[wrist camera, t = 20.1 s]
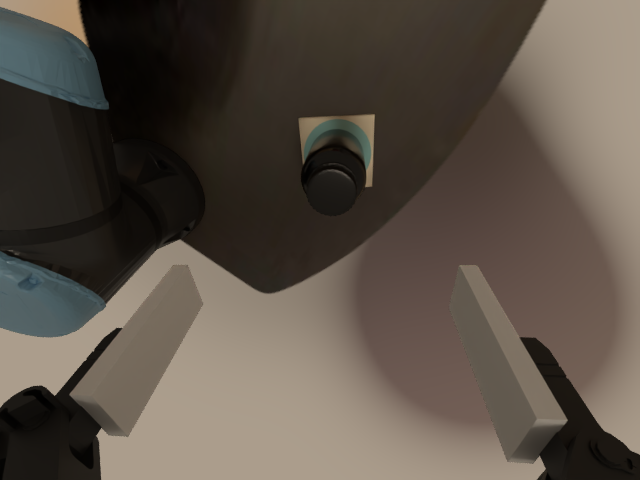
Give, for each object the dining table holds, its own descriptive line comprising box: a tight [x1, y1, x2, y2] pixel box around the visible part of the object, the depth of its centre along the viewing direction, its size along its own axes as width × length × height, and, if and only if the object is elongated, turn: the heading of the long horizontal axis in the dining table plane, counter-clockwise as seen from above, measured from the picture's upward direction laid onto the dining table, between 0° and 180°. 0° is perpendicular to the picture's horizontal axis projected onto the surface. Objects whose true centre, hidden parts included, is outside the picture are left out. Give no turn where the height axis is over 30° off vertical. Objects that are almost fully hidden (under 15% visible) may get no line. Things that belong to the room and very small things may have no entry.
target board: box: [299, 114, 375, 187], centre depth 37 cm, size 9×9×1 cm
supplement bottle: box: [301, 129, 367, 216], centre depth 32 cm, size 7×7×12 cm
